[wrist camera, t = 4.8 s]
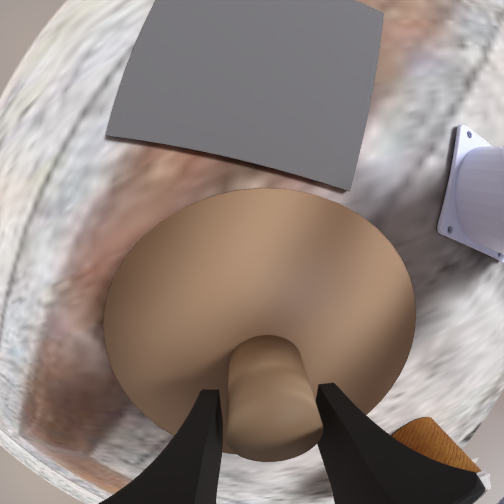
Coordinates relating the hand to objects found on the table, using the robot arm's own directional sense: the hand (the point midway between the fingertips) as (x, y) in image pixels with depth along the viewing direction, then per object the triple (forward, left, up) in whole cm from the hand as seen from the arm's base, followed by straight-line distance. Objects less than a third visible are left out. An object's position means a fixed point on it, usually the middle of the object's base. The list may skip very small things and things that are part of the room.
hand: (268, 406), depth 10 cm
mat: (+4, -15, -8) cm, 17 cm away
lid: (0, -1, -3) cm, 3 cm away
